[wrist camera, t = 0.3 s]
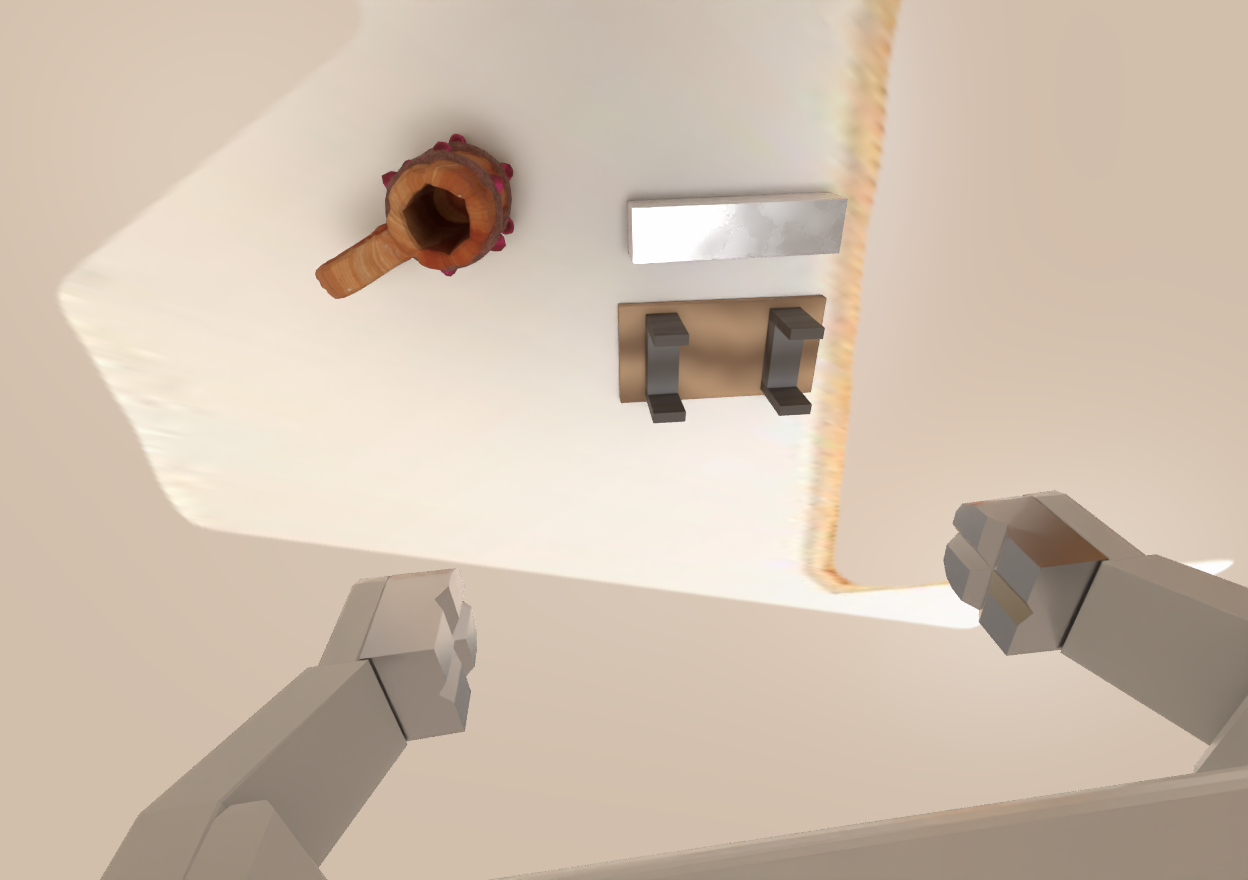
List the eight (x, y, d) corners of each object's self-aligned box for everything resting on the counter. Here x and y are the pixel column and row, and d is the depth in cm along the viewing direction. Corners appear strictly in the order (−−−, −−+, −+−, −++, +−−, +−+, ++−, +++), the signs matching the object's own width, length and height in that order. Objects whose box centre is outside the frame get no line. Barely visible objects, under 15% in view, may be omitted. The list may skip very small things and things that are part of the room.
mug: (487, 114, 46) (459, 119, 33) (539, 211, 50) (533, 250, 37) (336, 203, 48) (255, 240, 35) (398, 289, 52) (345, 351, 39)
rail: (628, 252, 53) (633, 263, 49) (626, 200, 50) (632, 208, 47) (819, 242, 54) (838, 253, 50) (826, 191, 52) (847, 198, 48)
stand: (618, 303, 55) (625, 328, 49) (822, 295, 56) (854, 318, 50) (619, 398, 60) (626, 431, 54) (807, 388, 61) (834, 419, 55)
